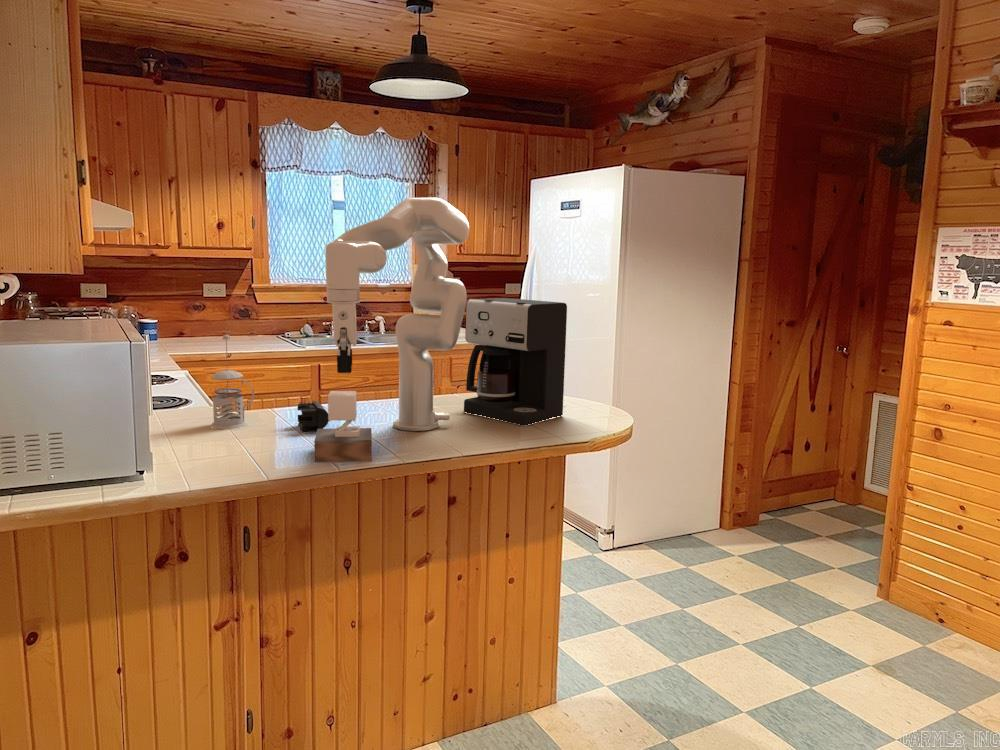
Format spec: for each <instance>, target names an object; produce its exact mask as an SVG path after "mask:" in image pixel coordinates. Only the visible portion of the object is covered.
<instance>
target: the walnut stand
mask: <svg viewBox="0 0 1000 750" xmlns="http://www.w3.org/2000/svg"><path fill="white" fill-rule="evenodd" d="M335 430H336V428H323V429H317V432H315V433H316V434H315V437H314V463H329V462H330V463H331V462H337V463H338V462H339V463H341V462H371V461H372V460H373V440H372V439H373V437H372V436H373V435H372V433H373V432H372V427H360V433H359V437H335Z"/></svg>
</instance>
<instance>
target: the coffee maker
mask: <svg viewBox="0 0 1000 750" xmlns="http://www.w3.org/2000/svg"><path fill="white" fill-rule="evenodd" d="M567 314H568V305H567V303H566V302H559V301H557V302H556V301H546V300H535V299H521V298H508V297H507V298H506V297H500V298H499V297H495V298H491V297H490V298H470V299H468V300H466V306H465V333H464V334H465V335H464V337H465V338H464V339H465V341H466V342H467V343H468V344H475V345H474V347H473V349H472V352H471V353H470V354H471V355H470V358H469V362H468V366H467V374H466V385H465V386H466V387H465V388H466V389H465V390H466V391H467V392H472V393H476V396H475V397H470V398H465V399H464V401H463V413H464V412H467V413H471V414H477V415H482V416H486V417H490V418H495V419H499V420H503V421H507V422H511V423H510V424H512V423H516V424H520V425H519V426H521V425H528V424H532V423H535V422H539V421H542V420H546V419H549V418H552V417H557V416H561V415H563V413H564V392H565V391H564V390H565V369H566V368H565V363H566V345H567V344H566V343H567V340H566V339H567V323H568V321H567V319H568V315H567ZM481 351H482V354H481V357H480V362H479V369H478V372H477V382H476V381H475V377H476V370H477V364H478V359H479V356H480V353H481ZM475 382H476V385H475ZM503 421H502V422H503ZM507 422H506V423H507ZM516 424H515V425H516ZM532 425H533V424H532ZM528 426H529V425H528Z"/></svg>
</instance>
